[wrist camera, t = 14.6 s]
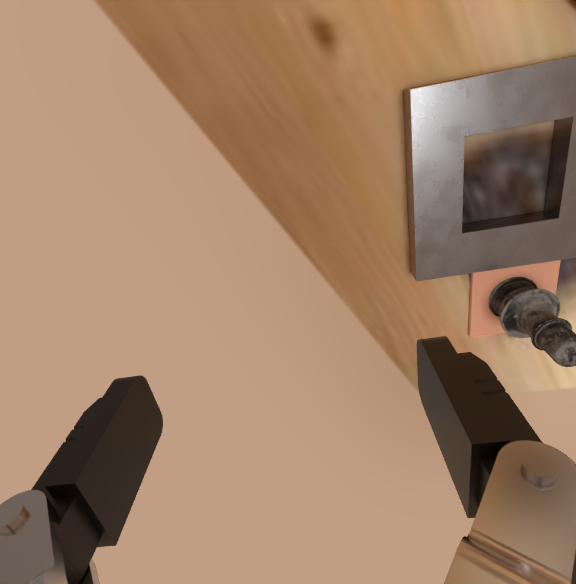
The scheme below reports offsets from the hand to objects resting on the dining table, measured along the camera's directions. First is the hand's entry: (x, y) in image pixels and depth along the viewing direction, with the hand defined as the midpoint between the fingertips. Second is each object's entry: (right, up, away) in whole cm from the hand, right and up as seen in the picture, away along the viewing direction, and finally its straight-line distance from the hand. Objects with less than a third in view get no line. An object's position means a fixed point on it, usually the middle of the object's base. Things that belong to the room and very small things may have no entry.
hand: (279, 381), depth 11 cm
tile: (+25, +2, +32) cm, 41 cm away
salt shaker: (+25, +2, +32) cm, 41 cm away
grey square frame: (+21, +14, +26) cm, 36 cm away
